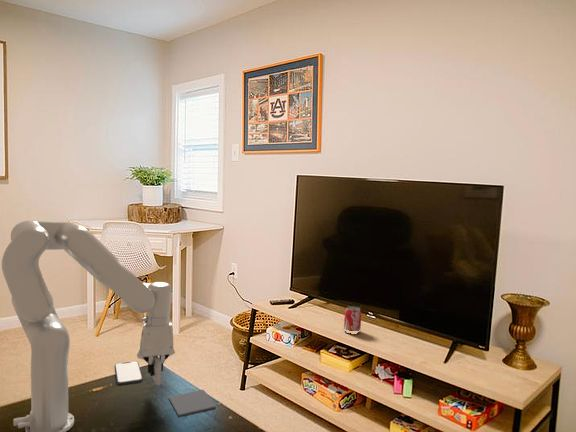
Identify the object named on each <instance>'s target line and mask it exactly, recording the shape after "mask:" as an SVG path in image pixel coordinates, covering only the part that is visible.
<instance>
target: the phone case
mask: <svg viewBox="0 0 576 432" xmlns="http://www.w3.org/2000/svg"><path fill="white" fill-rule="evenodd" d="M114 374H115V380H116V385H118V386H125V385H130V384H131V385H132V384H136V383H142V382H143V381H144V379H143V375H142V370H141V367H140V364H139V362H138V361H137V360H134V361H133V360H132V361H127V362H126V361H125V362H119V363H115V364H114Z"/></svg>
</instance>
